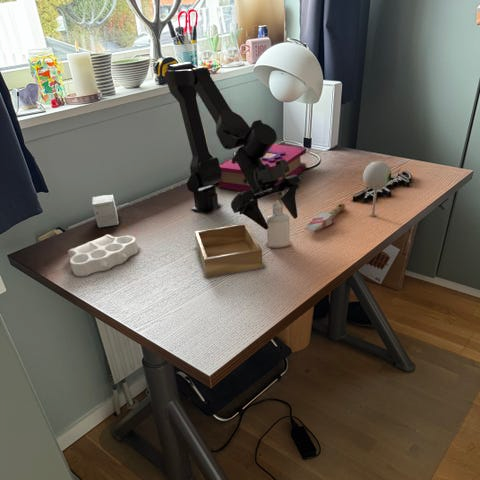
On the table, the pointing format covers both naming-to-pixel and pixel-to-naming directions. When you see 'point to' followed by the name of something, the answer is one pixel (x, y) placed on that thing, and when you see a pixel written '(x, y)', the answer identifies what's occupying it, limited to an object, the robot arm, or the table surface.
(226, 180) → the book
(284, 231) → the eye dropper bottle
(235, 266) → the crate
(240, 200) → the robot arm
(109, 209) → the product box
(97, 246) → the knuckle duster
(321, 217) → the cricket bat
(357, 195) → the nameplate
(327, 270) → the table surface
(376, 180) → the lollipop
